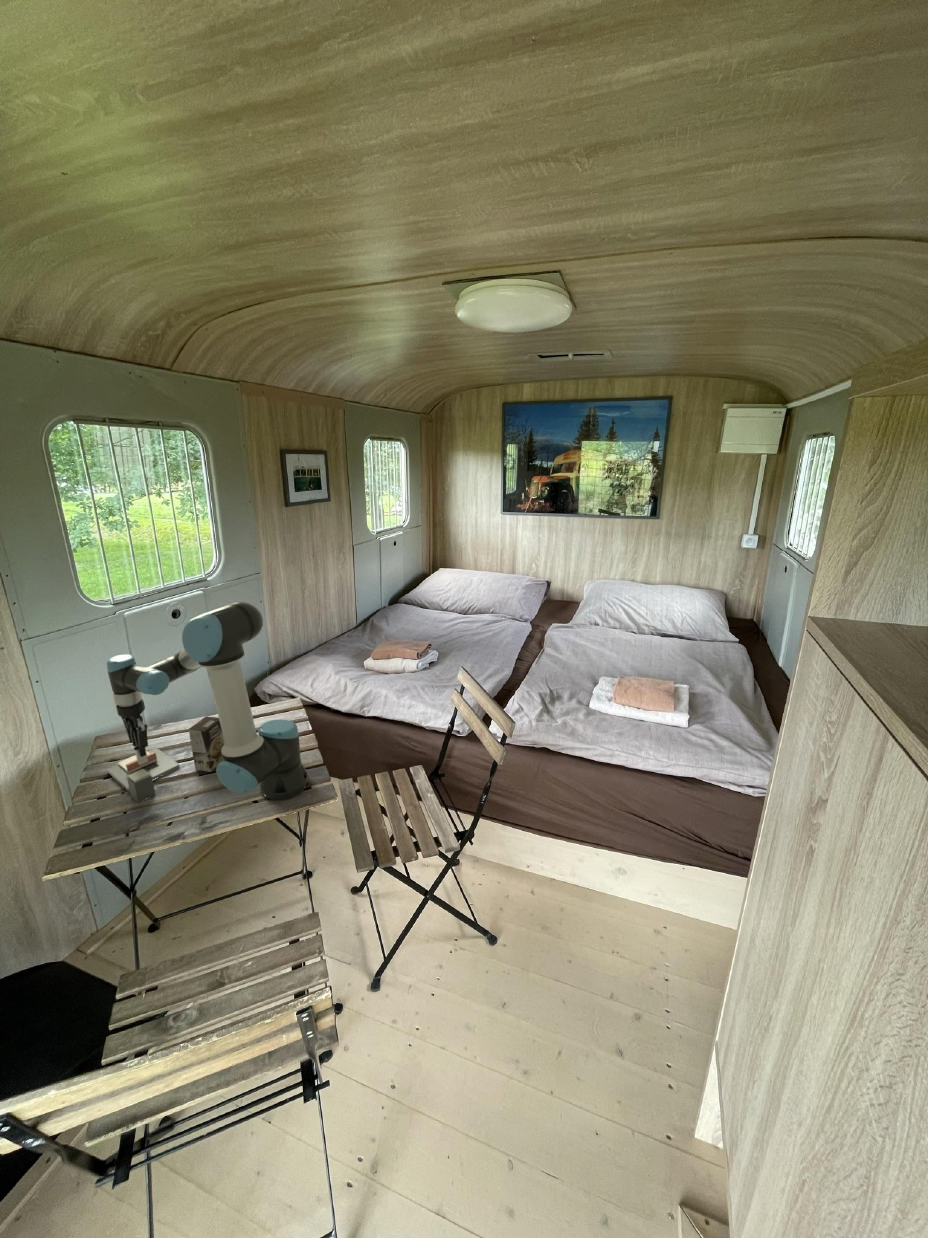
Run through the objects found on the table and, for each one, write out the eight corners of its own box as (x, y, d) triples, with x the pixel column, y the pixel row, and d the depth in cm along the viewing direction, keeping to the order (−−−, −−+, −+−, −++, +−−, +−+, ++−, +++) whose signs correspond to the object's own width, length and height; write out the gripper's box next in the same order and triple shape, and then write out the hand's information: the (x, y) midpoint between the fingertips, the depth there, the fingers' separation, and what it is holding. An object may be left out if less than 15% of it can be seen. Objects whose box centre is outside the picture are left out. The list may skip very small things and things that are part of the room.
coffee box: (211, 772, 171) (204, 731, 166) (194, 769, 172) (187, 729, 167) (228, 756, 180) (222, 717, 174) (212, 754, 181) (205, 715, 175)
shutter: (157, 760, 174) (155, 752, 173) (128, 773, 167) (127, 765, 166) (146, 752, 178) (144, 744, 177) (118, 764, 171) (116, 756, 170)
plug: (155, 794, 160) (150, 773, 157) (138, 803, 156) (133, 782, 153) (148, 788, 163) (143, 767, 160) (131, 796, 159) (126, 775, 156)
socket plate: (179, 767, 173) (179, 764, 172) (129, 792, 160) (128, 788, 160) (157, 751, 181) (156, 747, 181) (107, 773, 169) (106, 769, 168)
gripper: (151, 703, 160) (164, 764, 169) (132, 690, 167) (145, 750, 175) (126, 712, 155) (140, 775, 163) (107, 699, 162) (122, 760, 170)
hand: (143, 762), depth 169 cm, fingers closed
